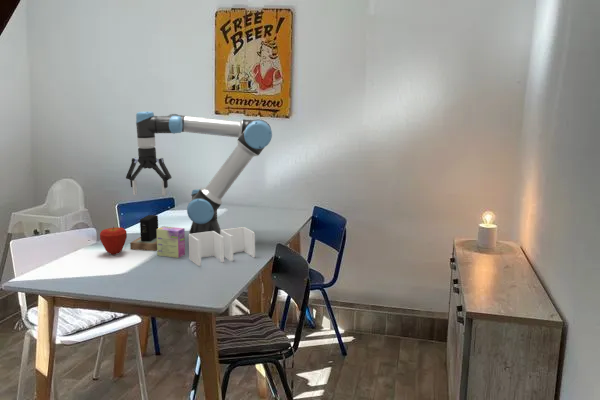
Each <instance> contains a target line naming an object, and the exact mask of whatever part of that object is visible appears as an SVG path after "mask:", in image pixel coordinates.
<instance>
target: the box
mask: <svg viewBox="0 0 600 400" xmlns="http://www.w3.org/2000/svg"><path fill="white" fill-rule="evenodd" d="M185 234H186V233H185V227H184V228H183V227H175V226H165V225H163V226H160V227H158V229H157V251H156V254H157V256H159V257H169V258H173V259H174V258H176V259H179V258H182V257H183V256H185V255H186V241H185V240H186V237H185Z"/></svg>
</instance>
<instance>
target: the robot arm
mask: <svg viewBox="0 0 600 400" xmlns="http://www.w3.org/2000/svg"><path fill="white" fill-rule="evenodd" d="M135 117H136V118H135V119H136V120H135V124H136V135H137V136H136V137H137V147H138V149H137V153H138V158H137V157H133V158H131V164H130V166H129V168H128V170H127V173H126V175H125V179H126V180H129V181H130V188H132V195H133V196H137V195H138V187H137V186H138V184H137V179H136V177H138V175H139V173H140V172H141V171H142V170H143V169H152V170H153V171H154V172H155V173H156V174H157V175H158V176H159V177H160V178H161V179H162V180H161V193H162V194H161V195H162V196H166V195H167V188H168V186H169V185H168V181H169V180H171V179H172V175H171V174H170V172H169V170H168V168H167V165H166V164H165V161H164V158H163V157H161V158H157V149H156V136H155V135H156V134H173V135H174V134H181V133H191V134H201V135H211V136H218V137H228V138H229V137H230V138H236V139H237V145H236V147H235V148H234V149H233V150H232V151H231V153H230V154H229V156H228V157H227V158H226V159H225V161H224V162H223V164H222V165H221V166H220V168H219V169H218V170H217V171H216V173H215V174H214V176H213V177H212V178H211V180H210V181H209V183H207V184H206V186H205V187H200V188H199V189H197V188H196V189H192V190H191V194H190V195H191V200H190V202H189V203H188V204H187V208H186V213H187V216H188V218H189V219H190V220H191V222H192V223H191V225H190V229H189V232H188V235H189V234H193V233H201V232H209V231H215V232H216V233H218V234H220V230H222V229H221V228H220V226H221V225H220V224H219V222H218V210H219V209H220V208H221V206H222V204H223V201H222V199H223V197H224V196H225V195H226V193H227V192H228V191H229V190H230V188H231V187H232V186H233V184H234V183H235V181H236V180H237V179H238V178H239V176H240V175H241V173H242V172H243V171H244V170H245V168H246V167H247V166H248V164H249V163H250V161H251V160H252V159H253V158H254V157H258V156H260V155H261V153H262V152H263V150H264V149H265V148H266V147H267V146H268V145H269V144H270V142H271V141H272V138H273V131H272V128H271V126H270V124H269V123H268V121H265V120H263V119H260V118H259V119H243V118H242V119H240V120H233V119H222V118H221V119H220V118H214V117H213V118H212V117H204V116H203V117H201V116H193V115H182V114H176V113H171V114H169V115H159V116H158V115H154V111H138V112H136V115H135ZM138 163H139V165H138V166H137V168H136V165H137V164H138ZM157 163H158V164H159V166H158V165H157ZM135 168H136V169H135ZM160 168H161V169H160ZM134 170H135V171H134Z"/></svg>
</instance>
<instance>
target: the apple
mask: <svg viewBox="0 0 600 400" xmlns="http://www.w3.org/2000/svg"><path fill="white" fill-rule="evenodd" d="M127 234H128V233H127V230H126V229H125V228H123V227H120V226H119V227H115V226H112V227H108V228H104V229H102V230H101V231H100V232H99V240H100V243H101V244H102V246H103V248H104V250H105V251H106V252H107V253H108V254H110V255H112V256H113V255H114V256H115V255H118V254H120V253H121V252H122V251H123V248H124V246H125V244H126V240H127V237H128V236H127Z"/></svg>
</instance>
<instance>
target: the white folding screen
mask: <svg viewBox="0 0 600 400" xmlns="http://www.w3.org/2000/svg"><path fill="white" fill-rule="evenodd" d="M255 234H256V233H255V232H254V231H253V230H251V229H249V228H247V227H245V226H243V227H242V226H241V227H240V226H239V227H234V228H226V229H221V230H220V234H218V233H216V232H215V231H209V232H201V233H193V234H189V233H188V258H189V260H190V261H191V262H192V263H194V264H195V265H196V266H197V267H202V258H207V257H215V258H216V259H217V260H219V261H220V263H221V264H223V263H224V262H225V258H226V259H227V260H229V261H230V262H233V261H234V254H235V253H240V252H244V253H246V254H247V255H249V256H251V258H256V237H255V236H256V235H255Z"/></svg>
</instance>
